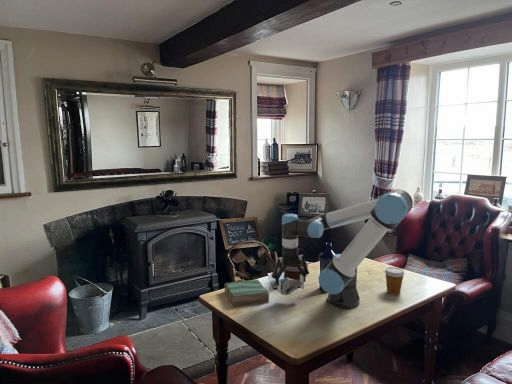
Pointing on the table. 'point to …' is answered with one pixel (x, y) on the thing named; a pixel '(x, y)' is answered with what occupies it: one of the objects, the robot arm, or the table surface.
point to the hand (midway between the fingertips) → (290, 290)
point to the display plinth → (246, 293)
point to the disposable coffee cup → (394, 280)
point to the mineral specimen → (289, 286)
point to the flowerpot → (293, 271)
